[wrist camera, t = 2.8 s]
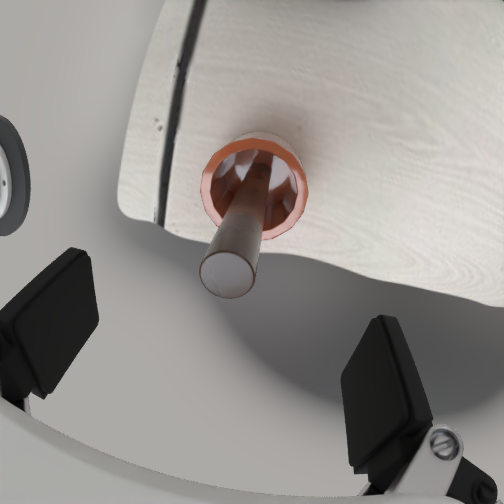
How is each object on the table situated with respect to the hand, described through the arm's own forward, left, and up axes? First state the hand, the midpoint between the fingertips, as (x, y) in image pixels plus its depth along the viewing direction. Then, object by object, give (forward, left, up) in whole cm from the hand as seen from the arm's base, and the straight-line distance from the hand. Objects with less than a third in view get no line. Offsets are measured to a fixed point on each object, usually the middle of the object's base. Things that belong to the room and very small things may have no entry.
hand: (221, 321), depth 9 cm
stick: (0, 0, -21) cm, 21 cm away
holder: (0, 0, -22) cm, 22 cm away
